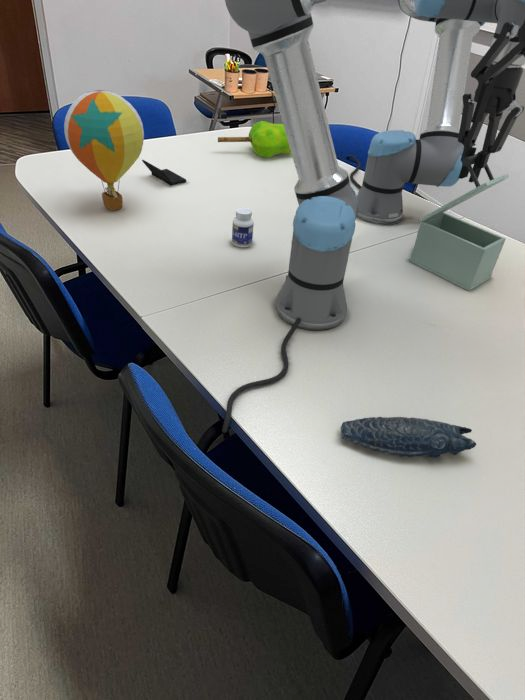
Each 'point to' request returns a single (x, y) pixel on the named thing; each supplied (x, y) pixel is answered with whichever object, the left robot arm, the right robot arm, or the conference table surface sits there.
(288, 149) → the decorative tree
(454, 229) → the chest
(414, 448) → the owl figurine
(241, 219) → the pill bottle
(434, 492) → the conference table surface
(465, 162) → the lid
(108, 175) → the toy
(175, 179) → the black angular piece
